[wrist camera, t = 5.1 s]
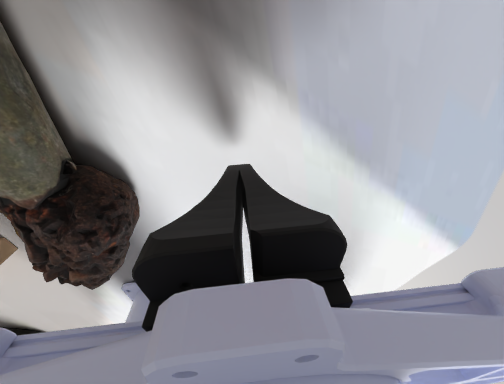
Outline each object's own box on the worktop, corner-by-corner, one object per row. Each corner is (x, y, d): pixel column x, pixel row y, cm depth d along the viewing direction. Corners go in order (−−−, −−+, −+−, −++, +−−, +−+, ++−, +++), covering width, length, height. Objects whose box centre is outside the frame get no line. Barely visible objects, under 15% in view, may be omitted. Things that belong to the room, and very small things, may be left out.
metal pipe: (-118, -29, 8) (-613, -152, 3) (60, -21, 8) (-142, -113, 4) (90, 247, 18) (43, 312, 13) (163, 242, 19) (142, 303, 14)
